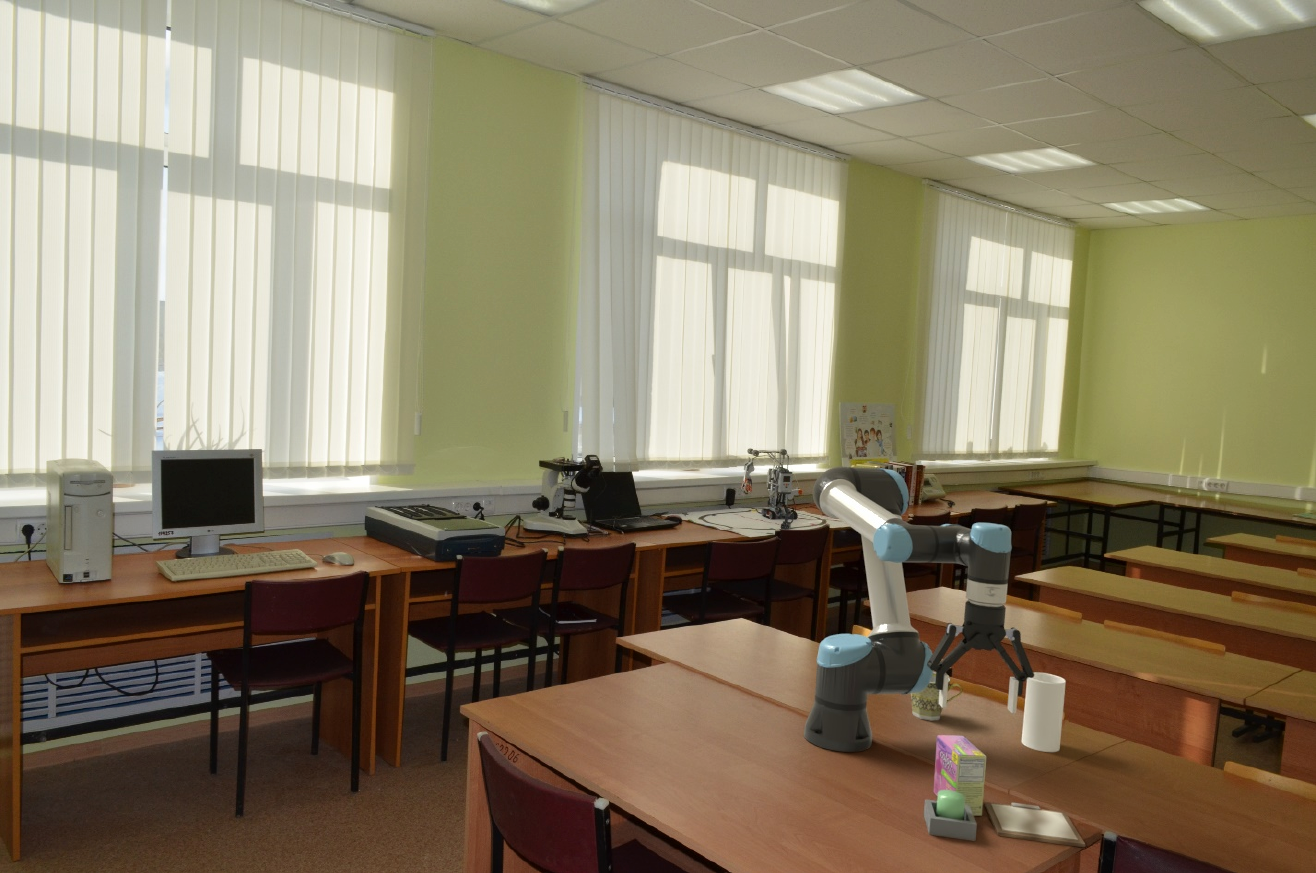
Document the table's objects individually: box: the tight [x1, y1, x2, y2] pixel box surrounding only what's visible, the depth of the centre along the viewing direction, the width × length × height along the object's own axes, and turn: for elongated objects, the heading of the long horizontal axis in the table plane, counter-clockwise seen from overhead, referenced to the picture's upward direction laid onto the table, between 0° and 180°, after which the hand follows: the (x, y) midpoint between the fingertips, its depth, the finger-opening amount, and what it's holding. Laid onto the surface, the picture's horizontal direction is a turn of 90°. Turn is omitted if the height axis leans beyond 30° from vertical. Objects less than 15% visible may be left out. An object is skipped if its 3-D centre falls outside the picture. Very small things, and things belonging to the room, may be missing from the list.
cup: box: [1021, 671, 1067, 753], centre depth 214 cm, size 8×8×16 cm
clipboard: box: [983, 801, 1086, 848], centre depth 172 cm, size 15×13×1 cm
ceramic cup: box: [910, 671, 963, 721], centre depth 229 cm, size 13×10×10 cm
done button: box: [936, 790, 965, 820], centre depth 169 cm, size 5×5×4 cm
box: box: [933, 734, 987, 817], centre depth 179 cm, size 10×6×12 cm, turn 5°
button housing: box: [923, 799, 978, 842], centre depth 169 cm, size 8×8×3 cm
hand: (976, 708), depth 182 cm, fingers open, 13 cm apart
